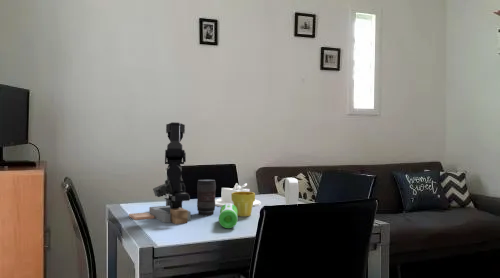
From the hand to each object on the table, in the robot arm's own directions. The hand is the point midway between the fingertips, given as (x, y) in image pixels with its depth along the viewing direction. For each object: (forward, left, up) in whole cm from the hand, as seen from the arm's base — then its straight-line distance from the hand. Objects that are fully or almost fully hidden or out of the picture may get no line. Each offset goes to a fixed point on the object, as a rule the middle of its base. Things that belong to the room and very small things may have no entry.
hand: (173, 215), depth 186 cm
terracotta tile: (+10, -11, -2) cm, 15 cm away
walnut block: (0, +5, -2) cm, 5 cm away
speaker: (-16, +18, -2) cm, 24 cm away
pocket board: (0, -5, -2) cm, 5 cm away
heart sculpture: (-40, +27, -2) cm, 48 cm away
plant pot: (-31, +4, -2) cm, 31 cm away
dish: (-44, -25, -2) cm, 50 cm away
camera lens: (-18, -6, -2) cm, 19 cm away
